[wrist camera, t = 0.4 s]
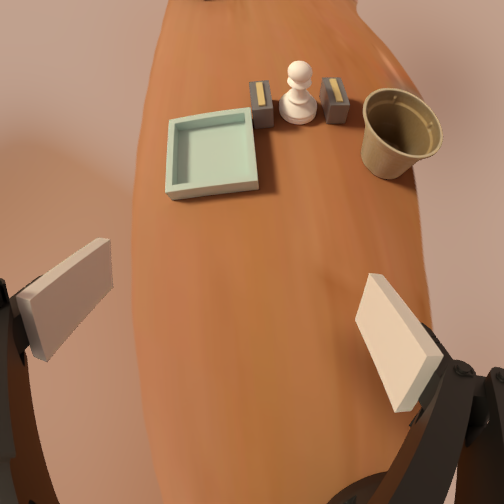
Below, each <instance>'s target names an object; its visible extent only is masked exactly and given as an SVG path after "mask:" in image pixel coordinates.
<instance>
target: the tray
mask: <svg viewBox="0 0 504 504" xmlns="http://www.w3.org/2000/svg"><path fill="white" fill-rule="evenodd" d="M250 190H259V182H258V172H257V162H256V152H255V142H254V133H253V123H252V115H251V108H250V107H247V108H239V109H231V110H224V111H217V112H211V113H204V114H198V115H193V116H187V117H182V118H177V119H172V120H169V129H168V143H167V161H166V185H165V193H166V194H167V195H168V196H169V197H170V198H171V200H179V199H186V198H193V197H200V196H208V195H216V194H224V193H233V192H241V191H250Z"/></svg>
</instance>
